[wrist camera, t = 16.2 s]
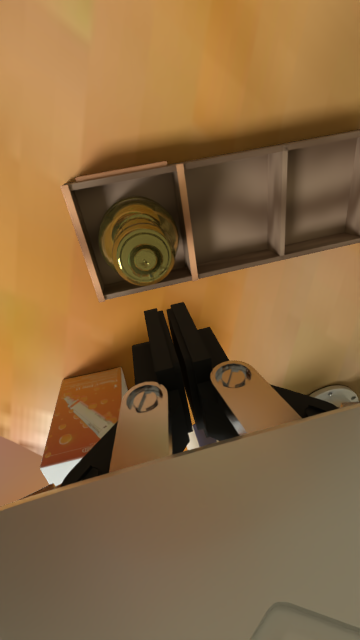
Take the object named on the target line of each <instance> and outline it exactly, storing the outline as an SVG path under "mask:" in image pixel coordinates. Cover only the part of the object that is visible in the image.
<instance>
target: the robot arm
mask: <svg viewBox="0 0 360 640" xmlns="http://www.w3.org/2000/svg"><path fill="white" fill-rule="evenodd" d="M144 315H145V320H146V325H147V331H148V336H149V342H145V343H141V344H137V345H133V346H132V353H133V365H134V376H135V386H133V387H132V388H131V389H129V390H128V391H127V392H126V393H125V395H124V396H123V399H122V401H121V407H120V413H119V418H118V421H117V422H116V423H115V424H114V425H113V426H112V427H111V429H110V430H109V431H108V432H107V433H106V434H105V435H104V436H103V437H102V438H101V439H100V440H99V441H98V442H97V443H96V444H95V445H94V446H93V447H92V449H91V450H90V451H89V452H88V453H87V454H86V455H85V456H84V457H83V458H82V459H81V460H80V461H79V462H78V463H77V464H76V465H75V466H74V467H73V469H72V470H71V471H70V472H69V473H68V474H67V476H66V477H65V478H64V480H63V482H62V483H61V484H59V485H57V486H55V485H54V483H52V484H50V485H48V486H46V487H44V488H42V489H40V490H38V491H36V492H34V493H32V494H30V495H28V496H26V497H24V498H22V499H20V500H18V501H15V502H12V503H9V504H6V505H4V506H0V640H360V401H359V400H358V397H357V395H356V394H355V393H354V392H353V391H352V390H351V389H350V388H348V387H346V386H341V385H335V386H329V387H325V388H322V389H320V390H318V391H316V392H314V393H312V394H311V395H309V396H307V395H304V394H301V393H297V392H294V391H290V390H287V389H284V388H280V387H277V386H273V385H270V384H269V383H268V382H267V381H266V380H265V379H264V378H263V377H262V376H261V375H260V374H259V373H258V372H257V371H256V370H255V369H254V368H253V367H252V366H250V365H249V364H247V363H245V362H242V361H229V359H228V358H227V356H226V354H225V352H224V351H223V349H222V347H221V346H220V344H219V342H218V340H217V339H216V337H215V335H214V333H213V332H212V330H211V328H210V327H207V328H203V329H199V330H197V328H196V326H195V324H194V322H193V320H192V318H191V316H190V314H189V312H188V310H187V308H186V306H185V304H184V302H182V303H178V304H173V305H171V309H167V315H168V320H169V325H170V330H171V335H172V339H171V336H170V332H169V329H168V326H167V323H166V320H165V317H164V314H163V311H157V308H156V309H152V310H147V311H144ZM172 340H173V342H172ZM184 387H185V388H184ZM185 391H186V393H185ZM186 394H187V397H188V400H189V404H190V407H191V410H192V414H193V417H194V420H195V423H196V427H197V430H201V429H203V430H204V433H205V436H206V438H208V437H212V438H214V439H216V440H218V441H219V442H216V443H212V444H209V445H205V446H202V447H198V448H195V449H191V450H188V451H184V449H185V448H186V446H187V445H188V443H189V442H190V439H189V435H188V433H190V432H193V428H192V423H191V418H190V413H189V408H188V403H187V398H186ZM183 451H184V452H183Z"/></svg>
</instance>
